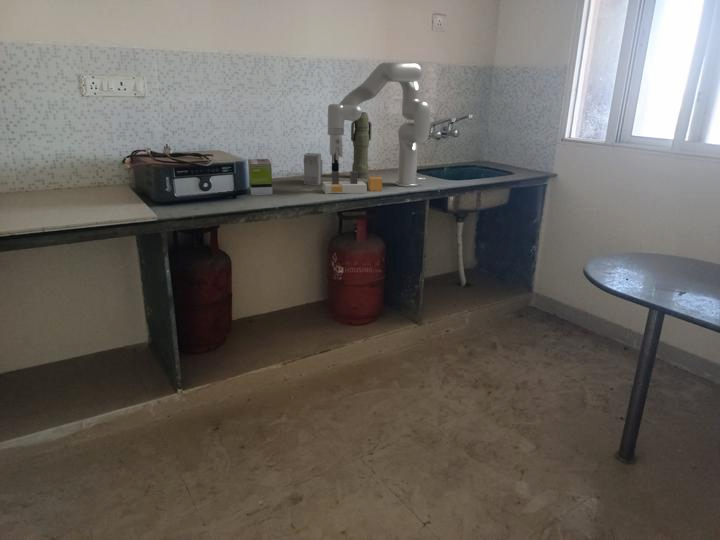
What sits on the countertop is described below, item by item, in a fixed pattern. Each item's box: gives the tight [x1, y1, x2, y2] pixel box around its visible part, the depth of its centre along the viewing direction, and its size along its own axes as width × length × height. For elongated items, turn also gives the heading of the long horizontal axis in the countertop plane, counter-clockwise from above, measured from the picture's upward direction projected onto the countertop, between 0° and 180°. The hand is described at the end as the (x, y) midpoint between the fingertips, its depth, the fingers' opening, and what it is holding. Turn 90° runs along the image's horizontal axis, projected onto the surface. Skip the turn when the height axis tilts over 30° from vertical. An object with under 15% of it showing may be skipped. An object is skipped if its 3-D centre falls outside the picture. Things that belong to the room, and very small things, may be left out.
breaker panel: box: [322, 180, 368, 195], centre depth 255 cm, size 20×10×4 cm, turn 102°
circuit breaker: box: [303, 152, 323, 186], centre depth 274 cm, size 8×14×15 cm, turn 174°
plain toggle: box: [349, 170, 358, 184], centre depth 255 cm, size 3×3×7 cm
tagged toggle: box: [331, 170, 340, 184], centre depth 253 cm, size 3×3×7 cm
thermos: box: [350, 111, 373, 179], centre depth 289 cm, size 9×12×35 cm
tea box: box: [247, 158, 273, 196], centre depth 247 cm, size 15×10×15 cm, turn 14°
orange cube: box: [367, 176, 383, 192], centre depth 261 cm, size 6×6×6 cm
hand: (335, 171), depth 252 cm, fingers closed
